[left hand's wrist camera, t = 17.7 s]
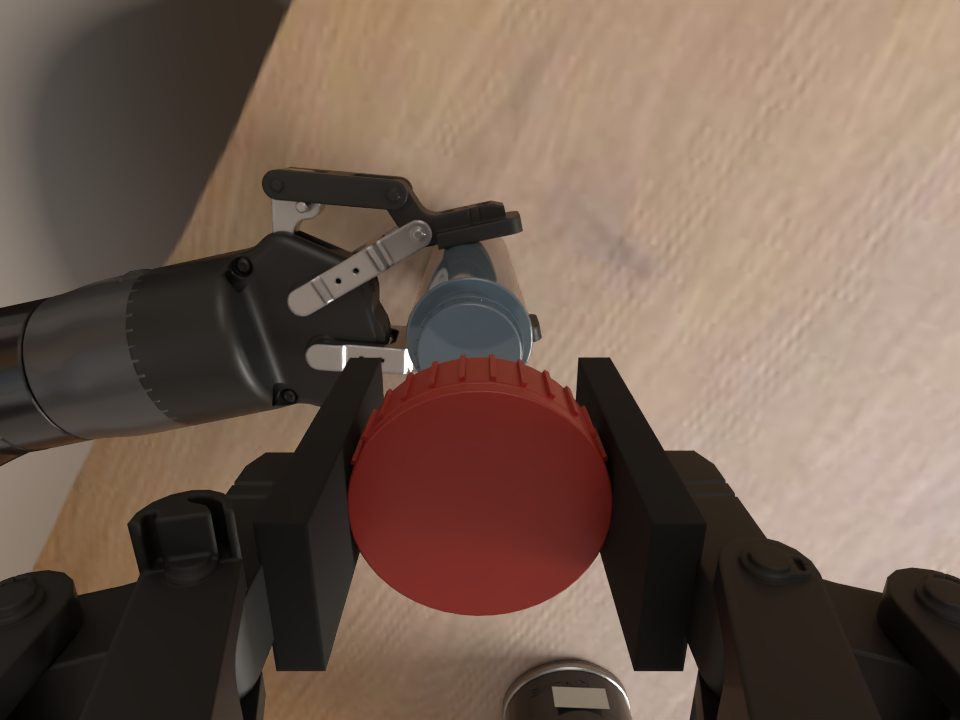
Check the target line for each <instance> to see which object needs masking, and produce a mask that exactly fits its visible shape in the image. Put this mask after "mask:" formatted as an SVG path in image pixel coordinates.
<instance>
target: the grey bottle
mask: <svg viewBox="0 0 960 720" xmlns="http://www.w3.org/2000/svg"><path fill="white" fill-rule="evenodd" d="M406 345H407V351H408V354H409V357H410V360H411V362H412V364H413V366H414V367H415V369H416V371H417V372H420V371H422V370H424V369H427V368H429V367H431V366H432V362H434V361H438V363H439V364H440V363H443V362H446V361H450V360H456V359H460V355H465V354H466V358H472V357H488V358H489V354H495V358H499V359H504V360H509V361H514V362H517V361H518V359H520V360H523V362H524V365H526V364H527V362H528V360H529V357H530V354H531V350H532V345H533V329H532V325H531V320H530V317H529V314H528V311H527V308H526V305H525V302H524V299H523V296H522V293H521V290H520V287H519V283H518V280H517V277H516V274H515V271H514V268H513V265H512V262H511V259H510V256H509V253H508V250H507V247H506V245H505V243H504V241H503V239H502V238H501V237H498V238H493V239H488V240H484V241H479V242H474V243H469V244H465V245H459V246H455V247H451V248H446V249H441V250H439V248H438V245H435V246H434V248H433V251H432V254H431V257H430V260H429V262H428V265H427V268H426V271H425V274H424V277H423V280H422V282H421V285H420V288H419V291H418V294H417V297H416V300H415V302H414V305H413V308H412V311H411V314H410V317H409V320H408V324H407V329H406Z"/></svg>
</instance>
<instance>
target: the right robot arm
mask: <svg viewBox="0 0 960 720" xmlns="http://www.w3.org/2000/svg"><path fill="white" fill-rule="evenodd" d="M262 186H263V190H264V192H265V193H266V194H267V195H268V196H269V197H270V198H271V201H272V228H273V233H270V234H269V235H267V236H266V237H264V238H263V239H262V240H261V241H260V242H259V243H258V244H257V245H256V246H254V247H251V248H247V249H243V250H238V251H234V252H229V253H225V254H220V255H215V256H211V257H206V258H202V259H197V260H192V261H188V262H183V263H178V264H174V265H169V266H165V267H160V268H156V269H141V270H135V271H130V272H128V273H127V274H125V275H123V276H119V277H114V278H110V279H106V280H102V281H98V282H94V283H91V284H88V285H85V286H83V287H80V288H78V289H75V290H73V291H70V292H67V293H64V294H61V295H57V296H54V297H49V298H44V299H40V300H35V301H31V302H26V303H21V304H17V305H12V306H7V307H3V308H0V466H2V465H4V464H6V463H8V462H10V461H12V460H14V459H16V458H18V457H20V456H22V455H24V454H27V453H29V452H34V451H39V450H45V449H49V448H53V447H58V446H63V445H68V444H73V443H78V442H83V441H88V440H93V439H101V438H110V437H129V436H139V435H146V434H152V433H157V432H162V431H168V430H173V429H178V428H183V427H188V426H193V425H198V424H203V423H208V422H213V421H218V420H223V419H228V418H233V417H238V416H243V415H248V414H253V413H258V412H263V411H268V410H273V409H278V408H282V407H285V406H289V405H293V404H297V403H306V404H312V405H316V406H319V407H321V406H322V404H323V403H324V401H325V399H326V397H327V396H328V394H329V392H330V391H331V389H332V387H333V385H334V384H335V382H336V380H337V379H338V377H339V375H340V374H341V372H342V370H343V368H344V367H345V365H346V363H347V362H348V360H349V358H381V364H382V373H390V374H406V373H409V372H412V371H416V369H415V367H414V366H413V364H412V362H411V360H410V357H409V354H408V351H407V345H406V329H407V326H395V325H390V321H389V318H388V315H387V313H386V311H385V310H384V308H383V306H382V304H381V303H380V300H379V281H378V278H377V275H379V274H381V273H382V272H384V271H386V270H387V269H388V268H390V267H391V266H393V265H394V264H396V263H398V262H399V261H401V260H403V259H405V258H407V257H408V256H410V255H412V254H414V253H415V252H417V251H419V250H421V249H422V248H424V247H428V246H433V245H438V248H439V250H441V249H446V248H451V247H455V246H459V245H465V244H469V243H474V242H479V241H484V240H488V239H493V238H498V237H502V236H507V235H512V234H516V233H519V232H521V231H523V229H522V224H521V218H520V214H519V213H518V211H511V212H506V213H505V209H504V205H503V203H501V202H495V201H487V202H482V203H478V204H473V205H469V206H464V207H459V208H454V209H450V210H445V211H441V212H432V211H429V210H427V209H426V208H425V207H424V206H423V205H422V204H421V203H420V201H419V200H418V198H417V196H416V195H415V193H414V192H413V188H412V185H411V183H410V182H409V181H408V180H407V179H406V178H403V177H398V176H386V175H375V174H364V173H352V172H341V171H330V170H319V169H307V168H296V167H289V168H282V169H276V170H271V171H269V172H267V173H266V174H265V175H264V177H263V180H262ZM325 204H327V205H339V206H351V207H362V208H374V209H385V210H387V211H388V212H389V214H390V215H391V217H392V218H393V220H394V221H395V223H396V224H397V226H396V227H394V228H392V229H391V230H389V231H387V232H385V233H383V234H381V235H379V236H377V237H375V238H374V239H372V240H370V241H369V242H367V243H365V244H363V245H362V246H360V247H358V248H356V249H355V250H353V251H351V252H349V251H346V250H344V249H342V248H339V247H337V246H335V245H332V244H330V243H328V242H325V241H323V240H321V239H318V238H316V237H314V236H311V235H309V234H307V233H304V232H302V231H300V230H299V227H300V224H301V222H302V221H303V220H308V219H312V218H314V217H316V216H318V215H320V214H321V213H322V212H323V210H324V207H325ZM529 317H530V320H531V325H532V329H533V342H536V341H538V340H540V339H541V338H542V337H541V331H540V326H539V322H538V319H537V316H536V315H534V314H529ZM390 337H391V338H392V339H390ZM382 358H383V359H382ZM503 719H504V720H632V717H631V714H630V705H629V701H628V698H627V694H626V691H625V689H624V687H623V685H622V683H621V682H620V681H619V680H618V678H617V677H616V676H614V675H613V674H612V673H611V672H609V671H608V670H606V669H604V668H602V667H600V666H598V665H595V664H592V663H588V662H583V661H575V660H564V661H555V662H550V663H546V664H543V665H540V666H537V667H535V668H533V669H531V670H529V671H528V672H526V673H525V674H523V675H522V676H520V677H519V678H518V679H517V680H516V681H515V682H514V683H513V684H512V686H511V687H510V688H509V690H508V692H507V694H506V696H505V699H504V703H503Z"/></svg>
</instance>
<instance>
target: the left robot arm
mask: <svg viewBox="0 0 960 720" xmlns="http://www.w3.org/2000/svg"><path fill="white" fill-rule="evenodd" d="M383 400H384V396H383V380H382V364H381V358H349V360H348V362H347V363H346V365H345V367H344V368H343V370H342V372H341V374H340V375H339V377H338V379H337V380H336V382H335V384H334V385H333V387H332V389H331V391H330V392H329V394H328V396H327V397H326V399H325V401H324V403H323V404H322V406H321V408H320V409H319V411H318V413H317V414H316V416H315V418H314V420H313V421H312V423H311V425H310V426H309V428H308V430H307V432H306V433H305V435H304V437H303V438H302V440H301V442H300V444H299V445H298V447H297V449H296V450H295V452H294V453H265V454H263V455H262V456H260V457H259V458H257V459H256V460H254V461H253V462H251V463H250V464H248V465H247V466H246V467H245V468H244V470H243V471H242V472H241V474H240V475H239V477H238V478H237V479H236V481H235V484H234V485H232V487H231V488H230V489H229V491H228V492H227V494H226V495H225V494H224V493H220V492H216V491H212V490H191V491H186V492H181V493H177V494H172V495H169V496H167V497H164V498H162V499H159V500H157V501H155V502H152V503H151V504H149V505H148V506H146V507H145V508H143V509H142V510H140V511H139V512H137V513H136V514H135V516H134V517H133V518H132V519H131V520H130V522H129V523H128V524H127V525H128V529H129V533H130V537H131V541H132V545H133V549H134V553H135V557H136V560H137V564H138V568H139V572H140V575H139V578H138V580H137V582H134V583H131V584H127V585H124V586H120V587H115V588H110V589H106V590H101V591H96V592H92V593H87V594H82V595H77V592H76V588H75V585H74V582H73V580H72V579H71V578H70V577H69V576H67V575H66V574H65V573H63V572H56V571H50V570H46V571H38V572H30V573H25V574H22V575H18V576H16V577H11V578H8V579H6V580H3V581H1V582H0V720H263V715H264V706H265V696H266V694H265V687H264V681H263V675H262V668H263V666H264V664H265V661H266V659H267V656H268V654H269V651H270V649H271V646H273V652H274V659H275V665H276V671H326V667H327V664H328V660H329V657H330V654H331V650H332V647H333V643H334V640H335V636H336V633H337V629H338V626H339V622H340V619H341V615H342V612H343V608H344V605H345V601H346V598H347V595H348V591H349V588H350V584H351V581H352V577H353V574H354V570H355V567H356V563H357V560H358V556H359V553H360V551H359V549H358V546H357V544H356V542H355V540H354V538H353V535H352V531H351V528H350V525H349V515H348V504H347V491H348V485H349V479H350V476H351V473H352V470H353V467H354V465H351V464H350V463H351V460H352V457H353V455H354V452H355V450H356V447H357V445H358V442H359V440H360V437H361V435H362V432H363V431H364V429H365V427H366V424H367V422H368V419H369V417H370V414H371V412H372V410H373V409H375V410H378V408H379V407H380V406H381V404H382V403H383ZM576 402H577V403H578V404H579V406H580V407H582V406H585V407H586V409H587V411H588V414H589V416H590V419H591V422H592V424H593V427H594V428H596V430H597V432H598V435H599V437H600V440H601V442H602V445H603V447H604V450H605V452H606V455H607V458H608V461H605V465H606V467H607V470H608V474H609V477H610V481H611V486H612V494H613V500H612V511H611V521H610V528H609V531H608V534H607V537H606V539H605V542H604V544H603V546H602V548H601V550H600V554H601V558H602V561H603V565H604V568H605V571H606V575H607V578H608V582H609V585H610V589H611V592H612V596H613V599H614V603H615V606H616V610H617V613H618V617H619V620H620V624H621V627H622V631H623V634H624V637H625V641H626V644H627V648H628V651H629V655H630V658H631V662H632V665H633V669H634V671H683V669H684V662H685V656H686V650H687V644H689V647H690V649H691V652H692V654H693V657H694V659H695V661H696V664H697V666H698V675H697V681H696V686H695V692H694V698H693V703H692V709H691V715H690V720H960V579H959V578H957V577H954V576H951V575H949V574H944V573H942V572H938V571H934V570H928V569H919V568H906V569H900V570H896V571H895V572H893V573H892V574H891V575H890V576H888V577H887V580H886V584H885V587H884V590H883V593H880V592H875V591H871V590H866V589H861V588H857V587H852V586H847V585H843V584H838V583H835V582H831V581H827V580H824V579H822V577H821V574H820V573H819V571H818V570H817V569H816V567H815V566H814V564H813V563H812V561H810V560H809V559H808V558H807V557H805V556H804V555H803V554H801V553H800V552H799V551H797V550H796V549H794V548H791V547H789V546H787V545H785V544H783V543H781V542H778V541H774V540H770V539H767V538H766V536H765V535H764V534H763V532H762V531H761V529H760V528H759V527H758V525H757V524H756V522H755V521H754V520H753V518H752V517H751V515H750V514H749V513H748V511H747V510H746V508H745V507H744V506H743V504H742V503H741V501H740V500H739V499H738V497H735V493H734V492H733V490H732V489H731V487H730V486H729V485H728V483H725V479H724V478H723V476H722V475H721V473H720V472H719V471H718V469H717V468H716V466H715V465H714V464H713V463H711V462H710V461H708V460H707V459H705V458H704V457H702V456H701V455H699V454H698V453H697V452H695V451H664V449H663V448H662V446H661V444H660V442H659V441H658V439H657V437H656V436H655V434H654V432H653V431H652V429H651V427H650V425H649V424H648V422H647V420H646V419H645V417H644V415H643V413H642V412H641V410H640V408H639V407H638V405H637V403H636V401H635V400H634V398H633V396H632V395H631V393H630V391H629V390H628V388H627V386H626V384H625V383H624V381H623V379H622V378H621V376H620V374H619V372H618V371H617V369H616V367H615V366H614V364H613V362H612V361H611V359H610V358H578V374H577V390H576Z"/></svg>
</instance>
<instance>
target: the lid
mask: <svg viewBox="0 0 960 720" xmlns="http://www.w3.org/2000/svg"><path fill="white" fill-rule="evenodd" d="M605 461H608V458H607V455H606V452H605V450H604V447H603V445H602V442H601V440H600V437H599V435H598V432H597V430H596V428H594V427H593V424H592V422H591V419H590V416H589V414H588V411H587V409H586V407H585V406H582V407H580V406H579V404H578V403H577V402H576V401H575V399H574V398H573V395H572V392H571V390H570V388H569V387H568V386H566V387H565V388H563V387H562V386H561V385H560V384H558V383H557V382H556V381H554V380H553V379H551V378H550V375H549V372H547V371H546V370H544V371H543V373H541V372H539V371H537V370H535V369H533V368H531V367H529V366H526V365H524V362H523V360H520V359H518V361H517V362H514V361H509V360H504V359H499V358H495V354H489V358H488V357H472V358H466V354H465V355H460V359H456V360H450V361H446V362H443V363H440V364H439V363H438V361H434V362H432V366H431V367H429V368H427V369H424V370H422V371H420V372H418V373H417V374H415V375H414V374H413V373H412V372H411V373H409V374H408V375H407V378H406V380H405V381H404V382H403V383H402V384H400V385H399V386H398V387H397V388H395V389H394V390H393V391H392V390H391V389H389V390H388V391H387V392H386V395H385V398H384V400H383V403H382V404H381V406H380V407H379V408H378V410H375V409H373V410H372V412H371V414H370V417H369V419H368V422H367V424H366V427H365V429H364V431H363V432H362V435H361V437H360V440H359V442H358V445H357V447H356V450H355V452H354V455H353V457H352V460H351V463H350V464H351V465H354V467H353V470H352V473H351V476H350V479H349V485H348V491H347V504H348V515H349V525H350V528H351V531H352V535H353V538H354V540H355V542H356V544H357V546H358V549H359V551H360V553H361V554H362V556H363V557H364V559H365V560H366V562H367V563H368V565H369V566H370V567H371V568H372V569H373V570H374V571H375V573H376V574H377V575H378V576H379V577H380V578H381V579H383V580H384V581H385V582H386V583H387V584H388V585H389V586H391V587H392V588H394V589H395V590H396V591H398V592H399V593H401V594H402V595H404V596H406V597H408V598H410V599H411V600H413V601H415V602H418V603H420V604H422V605H425V606H427V607H430V608H433V609H437V610H440V611H444V612H449V613H455V614H460V615H474V616H484V615H498V614H506V613H511V612H515V611H519V610H523V609H527V608H529V607H532V606H535V605H538V604H540V603H542V602H544V601H546V600H548V599H550V598H552V597H554V596H556V595H557V594H559V593H560V592H562V591H563V590H565V589H567V588H568V587H569V586H570V585H571V584H573V583H574V582H575V581H576V580H577V579H579V578H580V577H581V575H582V574H583V573H584V572H585V571H586V570H587V569H588V568H589V567H590V565H591V564H592V563H593V561H594V560H595V558H596V557H597V556H598V554H599V552H600V550H601V548H602V546H603V544H604V542H605V539H606V537H607V534H608V531H609V528H610V521H611V511H612V500H613V494H612V486H611V481H610V477H609V474H608V470H607V467H606V465H605Z"/></svg>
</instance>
